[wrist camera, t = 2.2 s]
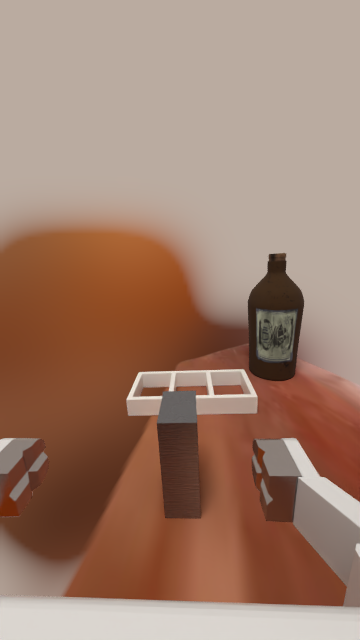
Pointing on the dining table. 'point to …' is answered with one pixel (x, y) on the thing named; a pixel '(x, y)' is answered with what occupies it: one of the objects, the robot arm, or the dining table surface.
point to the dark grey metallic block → (179, 454)
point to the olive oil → (274, 323)
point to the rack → (203, 402)
